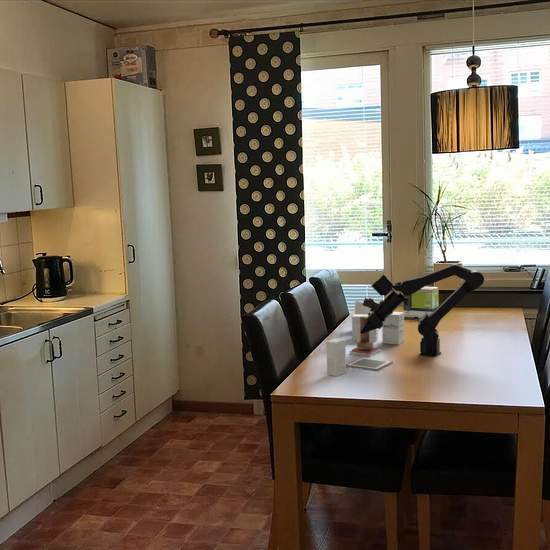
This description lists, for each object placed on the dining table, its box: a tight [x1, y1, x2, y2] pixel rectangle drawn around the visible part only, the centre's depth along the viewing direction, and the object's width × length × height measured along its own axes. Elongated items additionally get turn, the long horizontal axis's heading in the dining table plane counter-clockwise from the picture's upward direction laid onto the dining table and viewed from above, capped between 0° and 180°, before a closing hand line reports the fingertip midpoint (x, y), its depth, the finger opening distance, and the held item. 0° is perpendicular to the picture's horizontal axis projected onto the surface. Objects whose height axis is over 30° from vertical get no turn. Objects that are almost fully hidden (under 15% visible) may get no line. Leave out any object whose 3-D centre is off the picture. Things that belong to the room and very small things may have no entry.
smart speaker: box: [354, 300, 372, 315], centre depth 311 cm, size 10×9×14 cm
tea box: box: [402, 286, 440, 319], centre depth 342 cm, size 15×10×15 cm, turn 58°
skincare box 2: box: [351, 313, 379, 342], centre depth 295 cm, size 10×6×10 cm, turn 74°
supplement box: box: [381, 311, 405, 346], centre depth 287 cm, size 7×7×13 cm
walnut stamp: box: [356, 316, 374, 350], centre depth 270 cm, size 6×6×12 cm
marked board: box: [346, 357, 394, 372], centre depth 253 cm, size 13×13×1 cm
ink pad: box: [348, 346, 381, 358], centre depth 271 cm, size 9×9×2 cm
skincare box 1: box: [325, 337, 347, 377], centre depth 241 cm, size 6×4×12 cm
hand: (361, 332), depth 270 cm, fingers closed on walnut stamp, 4 cm apart
